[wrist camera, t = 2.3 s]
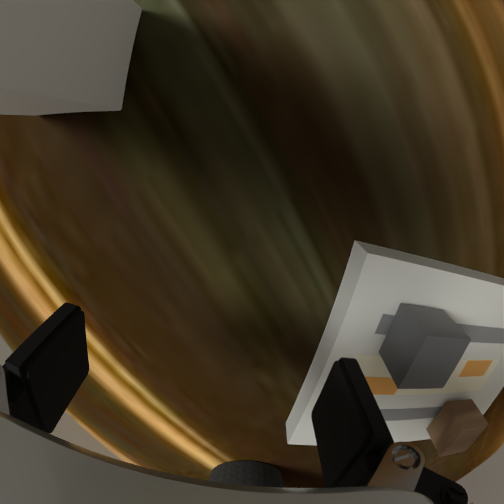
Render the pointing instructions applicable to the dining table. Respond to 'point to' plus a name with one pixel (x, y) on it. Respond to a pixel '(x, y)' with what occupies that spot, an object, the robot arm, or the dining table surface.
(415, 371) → the dark gray slider
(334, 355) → the switch panel
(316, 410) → the robot arm
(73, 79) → the milk
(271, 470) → the coffee cup
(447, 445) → the walnut slider
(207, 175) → the dining table surface
